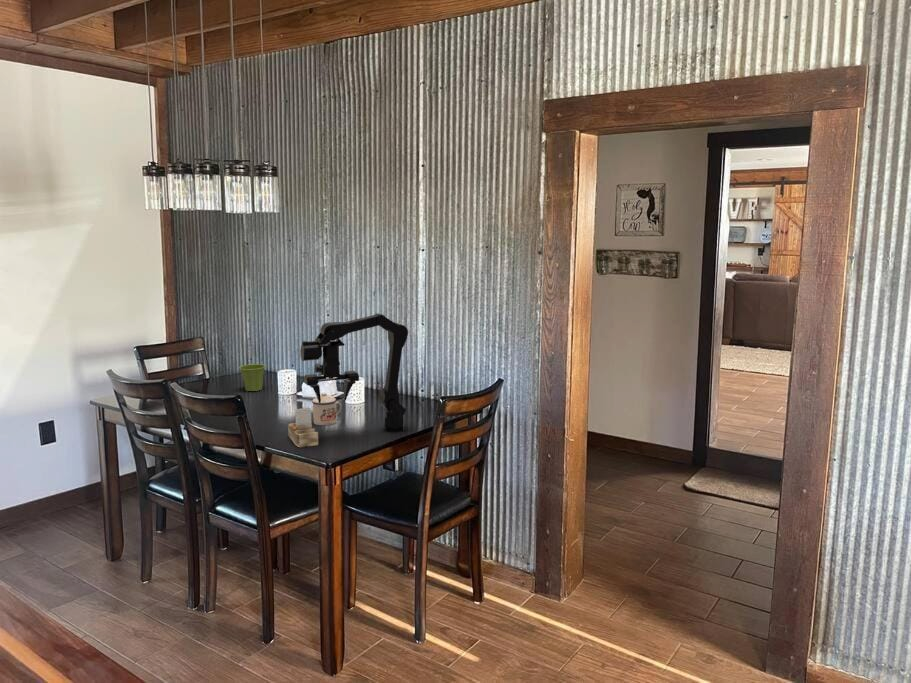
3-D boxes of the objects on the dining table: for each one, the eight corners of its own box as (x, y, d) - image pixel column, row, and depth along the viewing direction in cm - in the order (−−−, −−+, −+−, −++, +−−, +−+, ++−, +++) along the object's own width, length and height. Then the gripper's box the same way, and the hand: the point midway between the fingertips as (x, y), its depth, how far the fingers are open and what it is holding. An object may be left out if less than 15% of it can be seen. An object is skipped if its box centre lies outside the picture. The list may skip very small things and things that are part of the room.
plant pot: (240, 388, 337) (238, 365, 335) (266, 386, 341) (265, 363, 339) (240, 394, 326) (239, 369, 324) (267, 392, 330) (266, 368, 328)
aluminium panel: (310, 434, 258) (309, 407, 257) (311, 436, 256) (310, 409, 254) (296, 436, 256) (295, 409, 255) (297, 438, 254) (296, 410, 252)
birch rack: (308, 433, 264) (308, 419, 264) (318, 445, 251) (317, 430, 250) (288, 436, 262) (287, 421, 261) (297, 447, 248) (296, 432, 247)
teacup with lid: (321, 427, 273) (319, 397, 271) (308, 422, 279) (307, 393, 277) (347, 421, 281) (346, 392, 279) (335, 416, 287) (334, 388, 285)
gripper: (350, 352, 267) (351, 394, 269) (299, 356, 259) (301, 399, 262) (359, 358, 257) (360, 400, 259) (306, 362, 249) (308, 406, 252)
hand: (332, 401), depth 258 cm, fingers open, 9 cm apart
